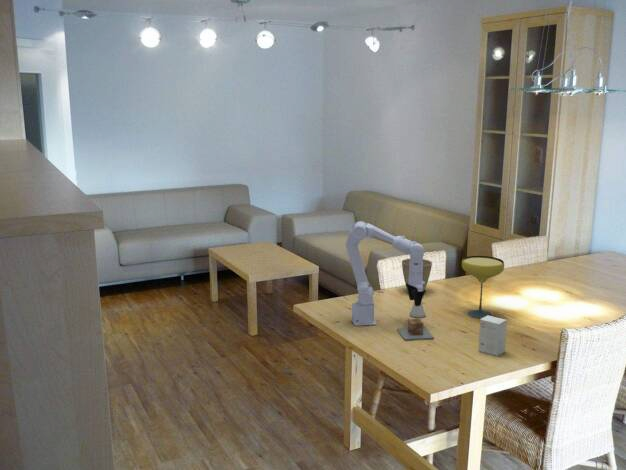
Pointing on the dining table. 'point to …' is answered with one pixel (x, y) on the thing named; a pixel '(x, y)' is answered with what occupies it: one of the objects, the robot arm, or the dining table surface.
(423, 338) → the coaster
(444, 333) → the dining table surface
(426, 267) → the plant pot
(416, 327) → the walnut cube
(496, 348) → the small box
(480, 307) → the cocktail glass
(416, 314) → the flask
